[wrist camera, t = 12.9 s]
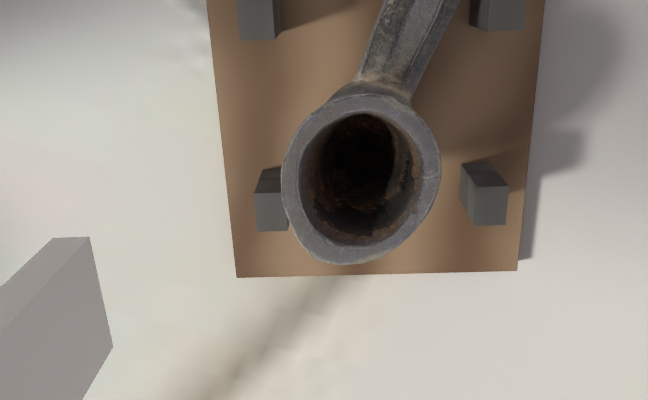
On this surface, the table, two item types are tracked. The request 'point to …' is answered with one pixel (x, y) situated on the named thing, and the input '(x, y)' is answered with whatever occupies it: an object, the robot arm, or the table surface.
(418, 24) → the pipe
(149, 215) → the table surface
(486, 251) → the collar cradle
